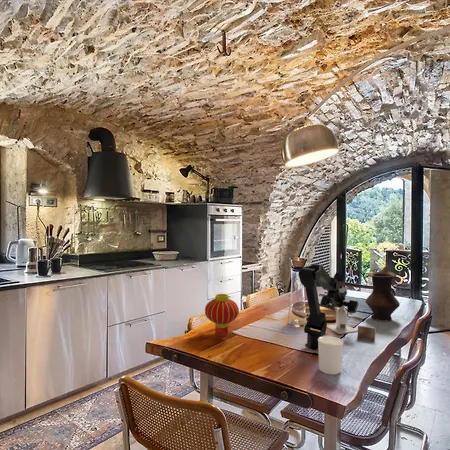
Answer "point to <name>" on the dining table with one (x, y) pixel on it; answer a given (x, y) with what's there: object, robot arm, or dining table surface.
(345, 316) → the bottle
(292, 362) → the dining table surface
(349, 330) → the board
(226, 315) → the lantern
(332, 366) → the white cylinder
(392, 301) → the jug
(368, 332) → the brown wooden box
